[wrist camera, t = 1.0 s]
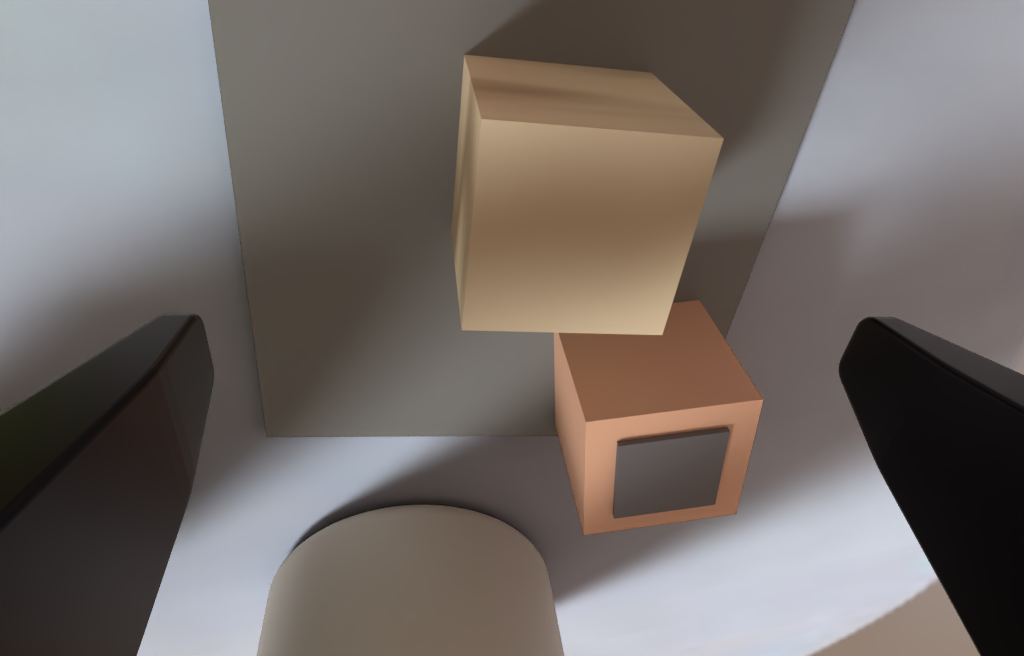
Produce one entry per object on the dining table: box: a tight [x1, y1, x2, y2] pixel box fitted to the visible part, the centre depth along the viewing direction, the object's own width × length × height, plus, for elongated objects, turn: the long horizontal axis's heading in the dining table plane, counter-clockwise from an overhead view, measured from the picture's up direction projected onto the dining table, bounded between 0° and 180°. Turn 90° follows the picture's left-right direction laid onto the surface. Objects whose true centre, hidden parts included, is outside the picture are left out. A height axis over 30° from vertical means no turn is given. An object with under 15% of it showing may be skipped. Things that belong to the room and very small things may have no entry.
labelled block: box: [554, 300, 764, 535], centre depth 21 cm, size 5×5×5 cm
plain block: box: [451, 55, 724, 335], centre depth 16 cm, size 5×5×5 cm
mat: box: [208, 0, 855, 437], centre depth 18 cm, size 22×16×1 cm
